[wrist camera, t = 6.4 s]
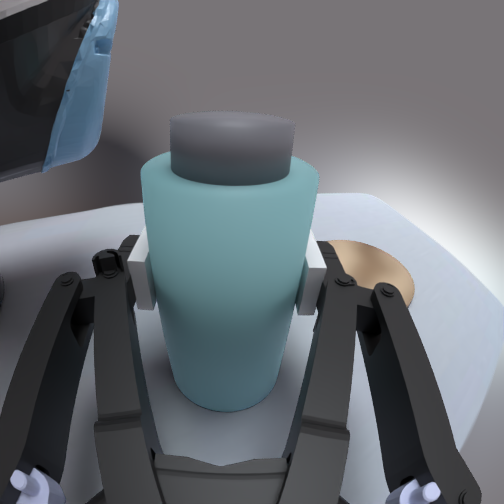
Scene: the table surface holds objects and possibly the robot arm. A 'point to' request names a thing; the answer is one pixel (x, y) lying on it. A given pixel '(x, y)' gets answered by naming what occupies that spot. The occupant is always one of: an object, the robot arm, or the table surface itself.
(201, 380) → the bottle
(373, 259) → the coaster
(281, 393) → the table surface
